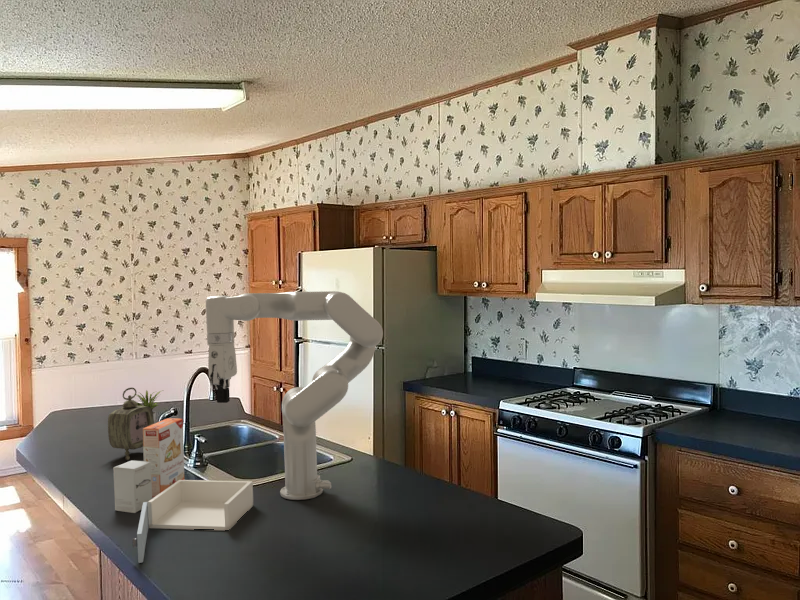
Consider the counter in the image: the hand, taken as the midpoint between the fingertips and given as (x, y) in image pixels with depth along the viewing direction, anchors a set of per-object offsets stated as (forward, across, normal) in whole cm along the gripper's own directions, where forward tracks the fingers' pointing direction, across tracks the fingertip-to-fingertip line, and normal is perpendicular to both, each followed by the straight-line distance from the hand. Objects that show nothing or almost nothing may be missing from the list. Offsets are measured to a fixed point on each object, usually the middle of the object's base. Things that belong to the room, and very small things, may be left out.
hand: (223, 402), depth 195 cm
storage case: (+29, -12, +2) cm, 32 cm away
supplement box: (+29, -7, +25) cm, 39 cm away
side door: (+29, -32, +9) cm, 44 cm away
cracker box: (+29, +8, +23) cm, 38 cm away
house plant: (+29, +86, +70) cm, 115 cm away
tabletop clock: (+29, +43, +54) cm, 75 cm away
